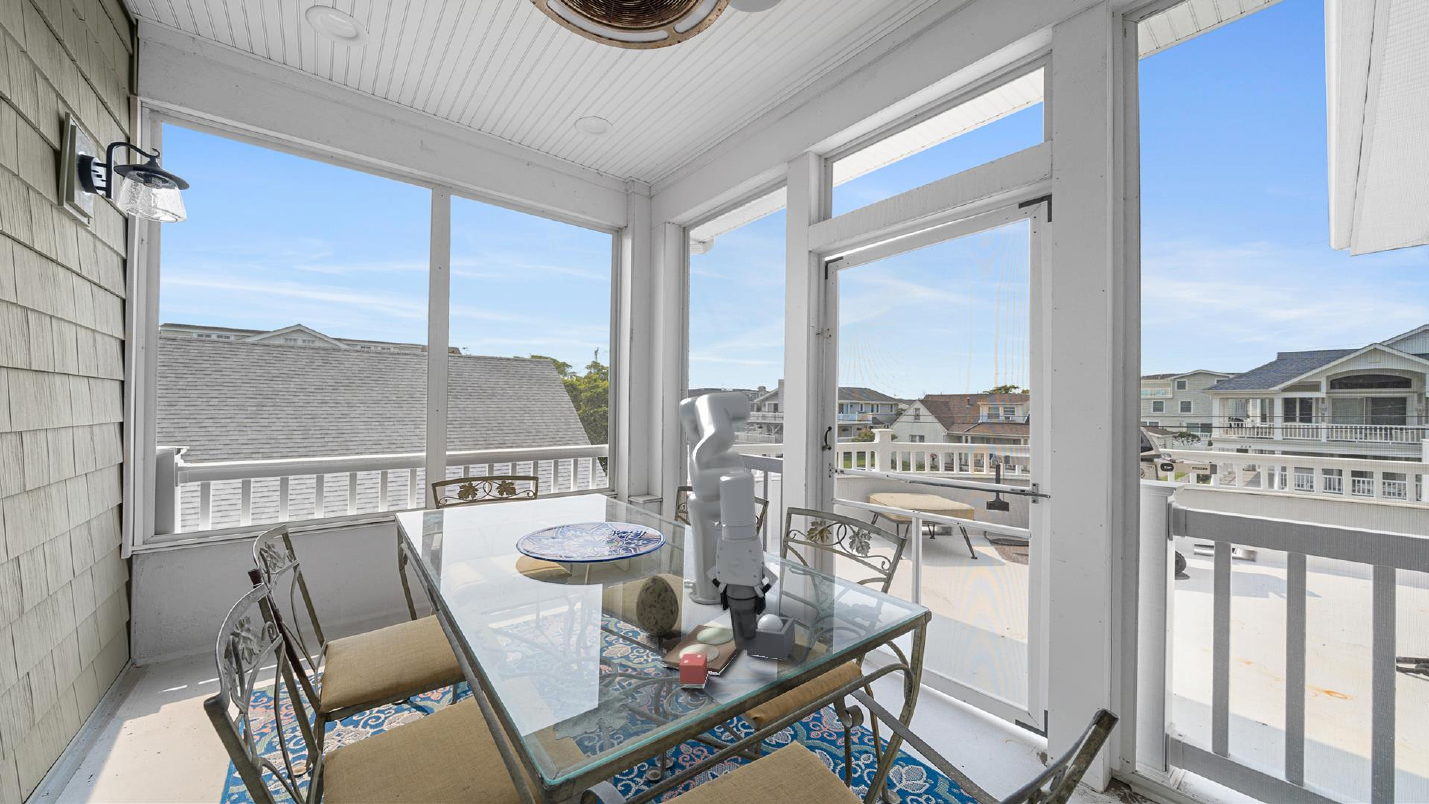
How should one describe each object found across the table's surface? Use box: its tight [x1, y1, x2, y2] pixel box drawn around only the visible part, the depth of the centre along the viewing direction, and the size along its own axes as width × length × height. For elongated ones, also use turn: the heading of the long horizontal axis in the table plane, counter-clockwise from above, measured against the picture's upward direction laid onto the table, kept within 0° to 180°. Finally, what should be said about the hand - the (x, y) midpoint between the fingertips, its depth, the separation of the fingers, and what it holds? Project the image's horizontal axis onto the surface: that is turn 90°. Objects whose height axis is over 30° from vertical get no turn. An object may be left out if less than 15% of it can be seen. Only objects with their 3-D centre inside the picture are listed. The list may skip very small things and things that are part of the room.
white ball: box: [758, 613, 783, 632], centre depth 136 cm, size 6×6×6 cm
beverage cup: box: [726, 584, 758, 651], centre depth 126 cm, size 7×7×20 cm
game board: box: [661, 624, 741, 673], centre depth 136 cm, size 14×20×2 cm
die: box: [679, 654, 709, 685], centre depth 123 cm, size 5×5×5 cm
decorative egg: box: [635, 574, 680, 637], centre depth 147 cm, size 11×11×15 cm
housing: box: [746, 614, 796, 661], centre depth 136 cm, size 9×9×6 cm
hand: (743, 609), depth 127 cm, fingers closed on beverage cup, 7 cm apart
